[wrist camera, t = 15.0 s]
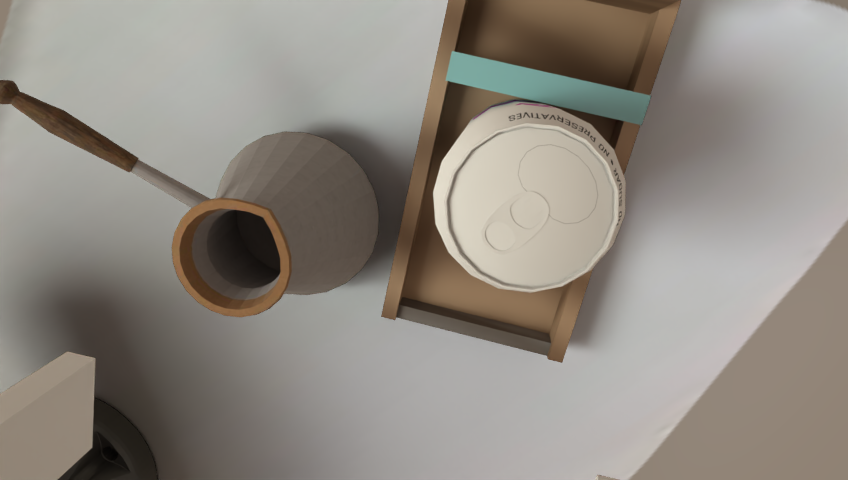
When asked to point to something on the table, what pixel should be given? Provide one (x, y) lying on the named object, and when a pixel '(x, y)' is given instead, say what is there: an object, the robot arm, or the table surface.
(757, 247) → the table surface
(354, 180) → the coffee pot
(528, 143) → the supplement can
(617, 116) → the plate
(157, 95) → the table surface
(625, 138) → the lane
